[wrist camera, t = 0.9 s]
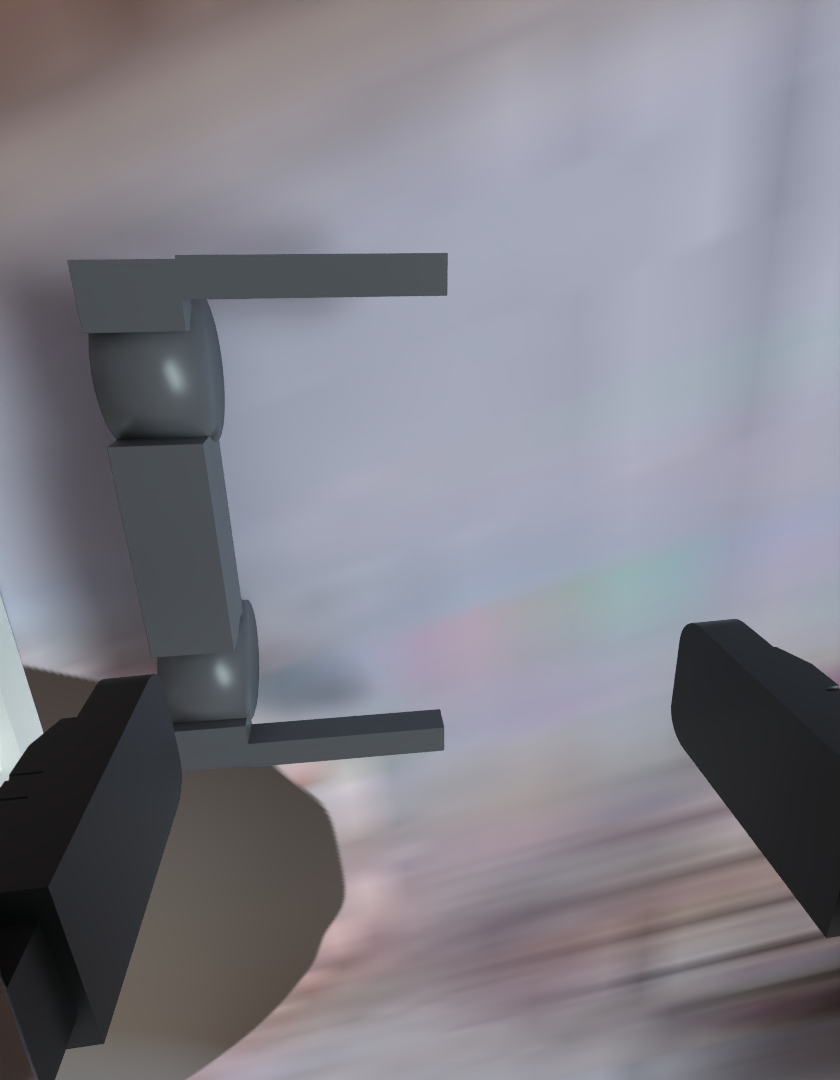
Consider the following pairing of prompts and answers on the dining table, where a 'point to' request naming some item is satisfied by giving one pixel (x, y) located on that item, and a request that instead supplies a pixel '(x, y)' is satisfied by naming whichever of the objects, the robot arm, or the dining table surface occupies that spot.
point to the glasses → (214, 487)
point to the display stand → (14, 703)
